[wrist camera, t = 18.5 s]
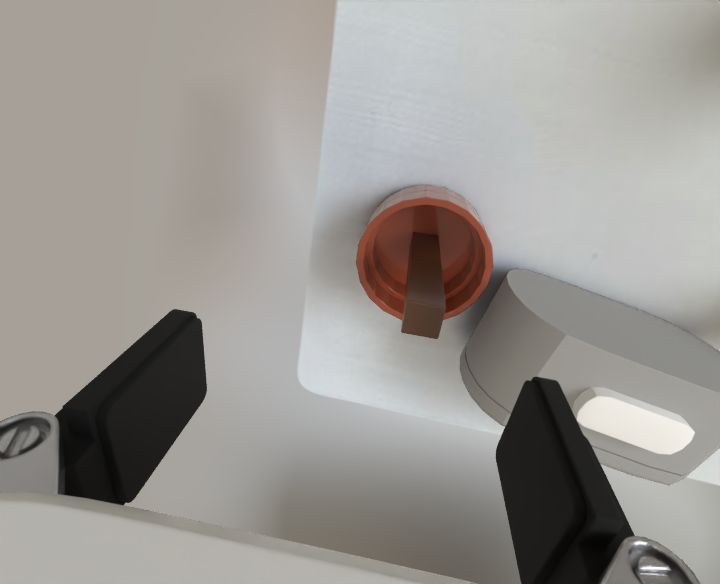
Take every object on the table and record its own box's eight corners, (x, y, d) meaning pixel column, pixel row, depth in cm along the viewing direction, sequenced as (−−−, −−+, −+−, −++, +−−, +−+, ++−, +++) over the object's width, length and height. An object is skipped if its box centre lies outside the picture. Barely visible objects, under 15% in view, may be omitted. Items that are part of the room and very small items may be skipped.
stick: (408, 255, 38) (400, 332, 25) (413, 231, 37) (407, 300, 24) (433, 259, 37) (437, 339, 25) (438, 235, 36) (446, 307, 24)
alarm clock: (452, 332, 41) (463, 427, 30) (495, 254, 37) (528, 329, 25) (632, 398, 42) (714, 518, 30) (696, 329, 37) (821, 437, 25)
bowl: (359, 284, 41) (350, 310, 36) (373, 175, 35) (365, 187, 31) (467, 303, 40) (472, 332, 35) (498, 194, 35) (510, 210, 30)
